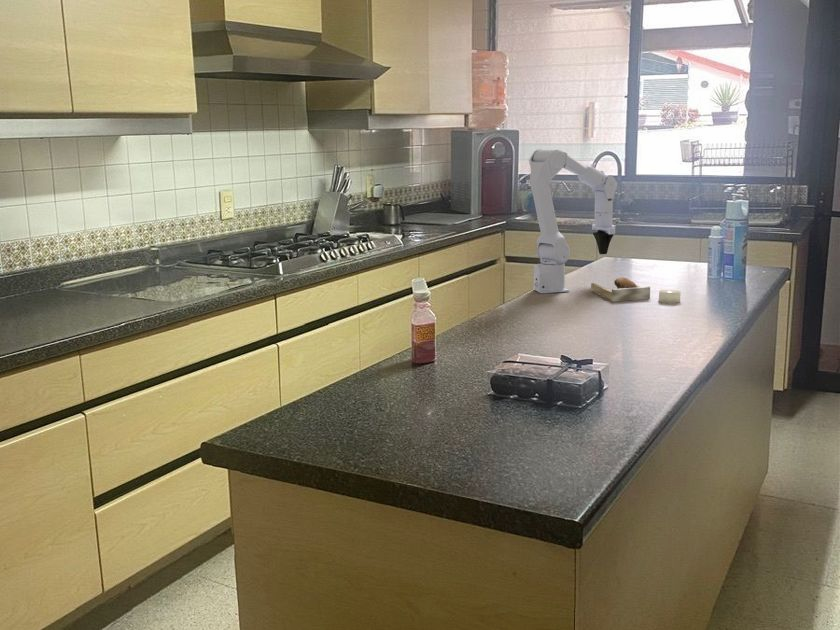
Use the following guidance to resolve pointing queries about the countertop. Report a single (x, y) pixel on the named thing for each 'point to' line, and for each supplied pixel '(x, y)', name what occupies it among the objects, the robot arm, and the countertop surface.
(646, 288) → the guide fence
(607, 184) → the robot arm
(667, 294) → the soap bar
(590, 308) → the countertop surface
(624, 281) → the mushroom
